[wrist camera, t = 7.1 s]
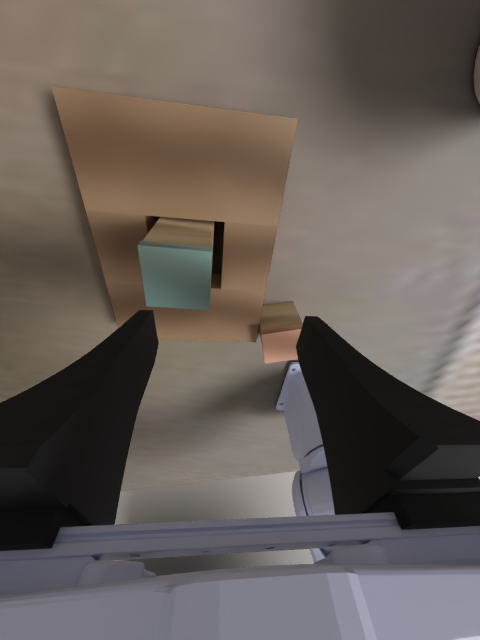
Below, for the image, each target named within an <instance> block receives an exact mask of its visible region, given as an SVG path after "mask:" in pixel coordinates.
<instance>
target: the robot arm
mask: <svg viewBox="0 0 480 640" xmlns="http://www.w3.org/2000/svg"><path fill="white" fill-rule="evenodd" d="M157 348H158V337H157V331H156V325H155V319H154V313H153V310H139V311H137V312H136V313H135V314H134V315H133V316H132V317H131V318H129V319H128V320H127V321H126V322H125V323H124V324H123V325H122V326H121V327H119V328H118V329H117V330H116V331H115V332H114V333H112V334H111V335H110V336H109V337H108V338H107V339H105V340H104V341H103V342H101V343H100V344H99V345H98V346H96V347H95V348H94V349H92V350H91V351H90V352H88V353H87V354H86V355H84V356H83V357H81V358H80V359H79V360H77V361H75V362H74V363H72V364H71V365H69V366H68V367H66V368H65V369H63V370H61V371H60V372H58V373H56V374H55V375H53V376H51V377H49V378H48V379H46V380H44V381H42V382H41V383H39V384H37V385H35V386H33V387H32V388H30V389H28V390H26V391H24V392H22V393H20V394H18V395H16V396H14V397H12V398H10V399H8V400H6V401H4V402H2V403H0V640H480V479H479V478H478V477H479V476H480V421H478V420H476V419H474V418H472V417H469V416H467V415H465V414H463V413H461V412H458V411H456V410H454V409H452V408H450V407H447V406H445V405H443V404H442V403H440V402H438V401H436V400H434V399H432V398H430V397H428V396H426V395H424V394H422V393H420V392H419V391H417V390H415V389H413V388H412V387H410V386H408V385H406V384H405V383H403V382H401V381H400V380H398V379H396V378H395V377H393V376H392V375H390V374H389V373H387V372H386V371H384V370H383V369H381V368H380V367H378V366H377V365H375V364H374V363H373V362H371V361H370V360H368V359H367V358H366V357H365V356H363V355H362V354H361V353H359V352H358V351H357V350H356V349H355V348H353V347H352V346H351V345H350V344H349V343H347V342H346V341H345V340H344V339H343V338H342V337H340V336H339V335H338V334H337V333H336V332H335V331H334V330H333V329H331V328H330V327H329V326H328V325H327V324H326V323H325V322H324V321H322V320H321V319H320V318H319V317H315V316H305V319H304V322H303V325H302V329H301V332H300V335H299V338H298V341H297V344H296V350H297V356H298V361H299V362H292V363H290V365H289V368H288V371H287V374H286V377H285V380H284V383H283V386H282V389H281V392H280V395H279V398H278V401H277V404H276V409H277V410H284V415H285V420H286V424H287V429H288V433H289V438H290V442H291V447H292V451H293V454H294V456H295V458H296V460H297V461H298V463H299V465H300V471H297V472H296V473H295V476H294V480H293V484H292V496H293V503H294V508H295V513H296V517H276V518H254V519H231V520H211V521H210V520H209V521H187V522H166V523H142V524H120V525H114V524H115V519H116V513H117V507H118V502H119V496H120V490H121V485H122V480H123V475H124V470H125V465H126V460H127V455H128V450H129V446H130V441H131V437H132V433H133V428H134V424H135V420H136V416H137V412H138V409H139V406H140V403H141V400H142V397H143V394H144V391H145V388H146V386H147V383H148V380H149V377H150V374H151V371H152V368H153V366H154V363H155V358H156V354H157ZM293 368H294V369H293ZM295 549H310V551H311V554H312V557H313V560H314V564H299V565H276V566H259V567H243V568H231V569H221V570H209V571H200V572H191V573H182V574H173V575H166V576H157V577H156V575H155V573H152V572H149V571H146V570H145V569H144V568H145V566H144V564H143V563H142V562H127V561H110V560H124V559H140V558H158V557H175V556H193V555H210V554H227V553H244V552H260V551H277V550H295Z"/></svg>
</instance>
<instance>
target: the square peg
mask: <svg viewBox="0 0 480 640" xmlns="http://www.w3.org/2000/svg"><path fill="white" fill-rule="evenodd" d="M214 222H215V221H207V220H195V219H183V218H171V217H160V218H159V219H158V221H157V222H156V223H155V225H154V226H153V227H152V229H151V230H150V232H149V233H148V234H147V236H146V237H145V238H144V240H143V241H140V242H139V244H138V245H137V246H138V252H139V259H140V266H141V273H142V279H143V286H144V293H145V300H146V306H150V307H166V308H183V309H199V310H210V293H211V274H212V261H213V243H214Z"/></svg>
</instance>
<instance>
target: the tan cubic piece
mask: <svg viewBox="0 0 480 640" xmlns="http://www.w3.org/2000/svg"><path fill="white" fill-rule="evenodd" d="M302 325H303V324H302V321H301V319H300V317H299V314H298V312H297V309H296V307H295V305H294V302H293V301H292V302H285V303H279V304H272V305H266V306H263V307H262V312H261V318H260V323H259V330H260V336H261V342H262V347H263V353H264V361H265V364H266V363H273V362H280V361H287V360H294V359H298V356H297V350H296V344H297V341H298V338H299V335H300V332H301V329H302Z"/></svg>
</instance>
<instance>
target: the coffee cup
mask: <svg viewBox="0 0 480 640" xmlns="http://www.w3.org/2000/svg"><path fill="white" fill-rule="evenodd" d="M474 88H475V94H476V97H477V99H478V102H479V103H480V45H479V48H478V51H477V56H476V60H475V69H474Z"/></svg>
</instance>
